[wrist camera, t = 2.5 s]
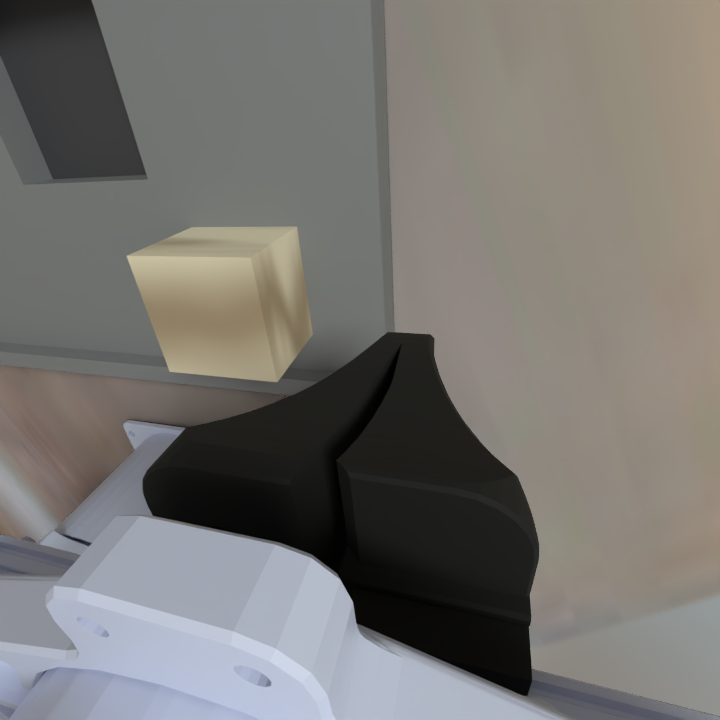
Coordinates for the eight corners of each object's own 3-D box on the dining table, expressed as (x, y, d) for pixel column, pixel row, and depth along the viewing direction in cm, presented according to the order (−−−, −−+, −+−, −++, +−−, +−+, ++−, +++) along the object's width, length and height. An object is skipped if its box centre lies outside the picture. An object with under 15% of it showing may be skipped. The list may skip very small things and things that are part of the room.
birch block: (312, 334, 19) (277, 382, 16) (219, 328, 21) (169, 371, 18) (296, 226, 17) (250, 257, 14) (191, 227, 18) (126, 256, 15)
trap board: (395, 370, 22) (381, 412, 19) (-77, 331, 31) (-135, 355, 28) (379, -132, 12) (346, -199, 10) (-291, 26, 22) (-410, 15, 19)
